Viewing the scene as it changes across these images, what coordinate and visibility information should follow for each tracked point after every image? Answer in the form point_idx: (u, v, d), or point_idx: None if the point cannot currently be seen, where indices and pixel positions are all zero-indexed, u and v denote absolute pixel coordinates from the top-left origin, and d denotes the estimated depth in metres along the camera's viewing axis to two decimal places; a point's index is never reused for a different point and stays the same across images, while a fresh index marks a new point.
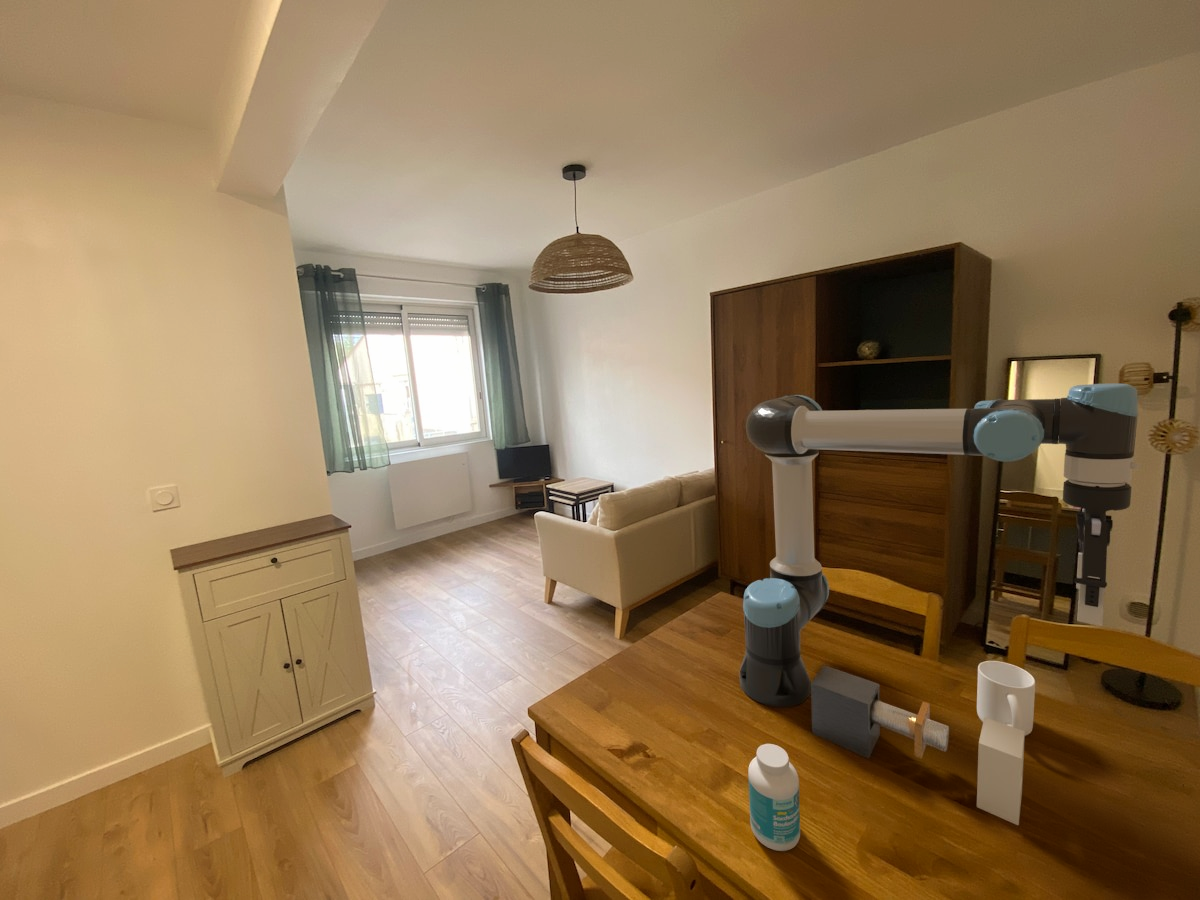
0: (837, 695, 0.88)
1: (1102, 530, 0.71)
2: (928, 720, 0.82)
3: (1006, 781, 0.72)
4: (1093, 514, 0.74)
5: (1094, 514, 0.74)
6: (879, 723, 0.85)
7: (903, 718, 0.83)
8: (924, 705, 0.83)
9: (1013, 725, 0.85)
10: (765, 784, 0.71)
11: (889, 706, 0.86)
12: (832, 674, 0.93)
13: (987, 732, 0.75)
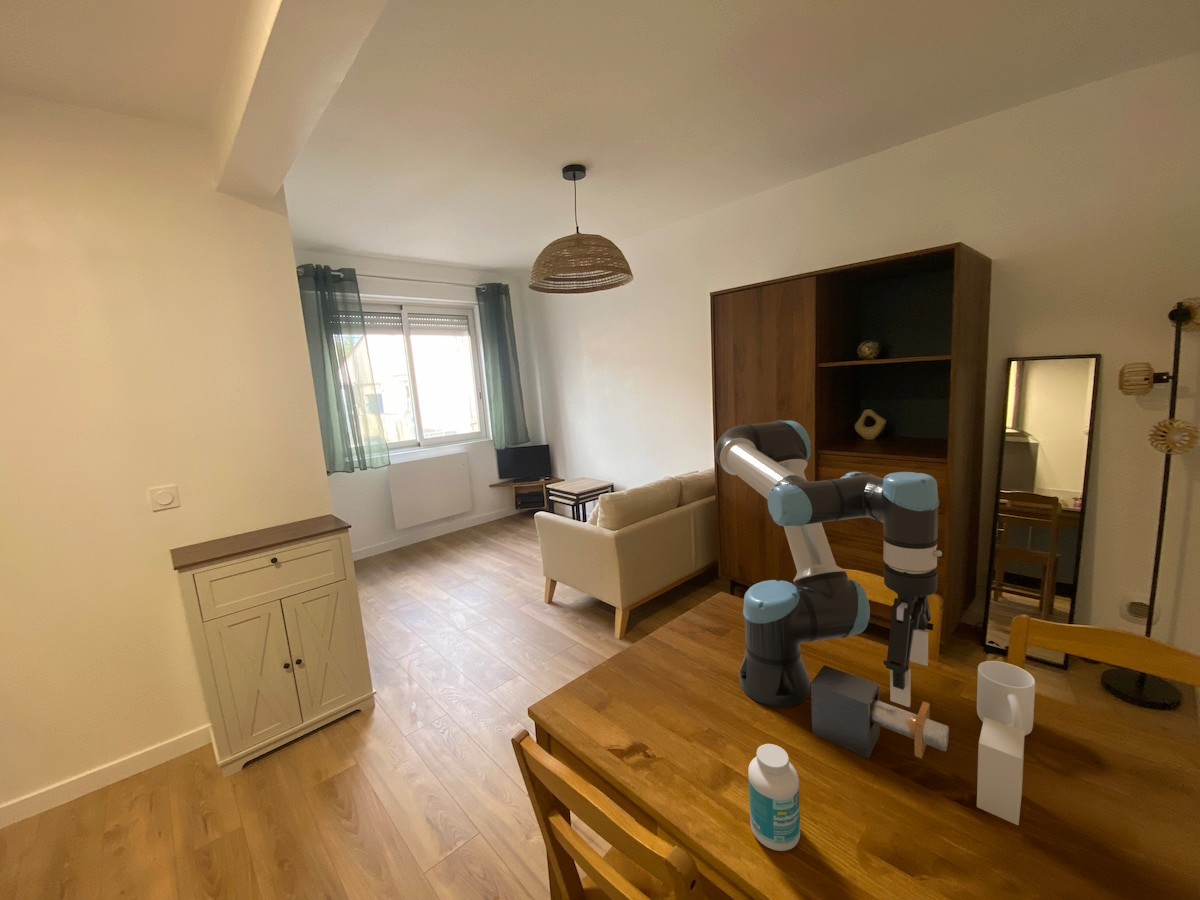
0: (837, 695, 0.88)
1: (904, 617, 0.75)
2: (928, 720, 0.82)
3: (1006, 781, 0.72)
4: (902, 599, 0.77)
5: (903, 599, 0.77)
6: (879, 723, 0.85)
7: (903, 718, 0.83)
8: (924, 705, 0.83)
9: (1013, 725, 0.85)
10: (765, 784, 0.71)
11: (889, 706, 0.86)
12: (832, 674, 0.93)
13: (987, 732, 0.75)
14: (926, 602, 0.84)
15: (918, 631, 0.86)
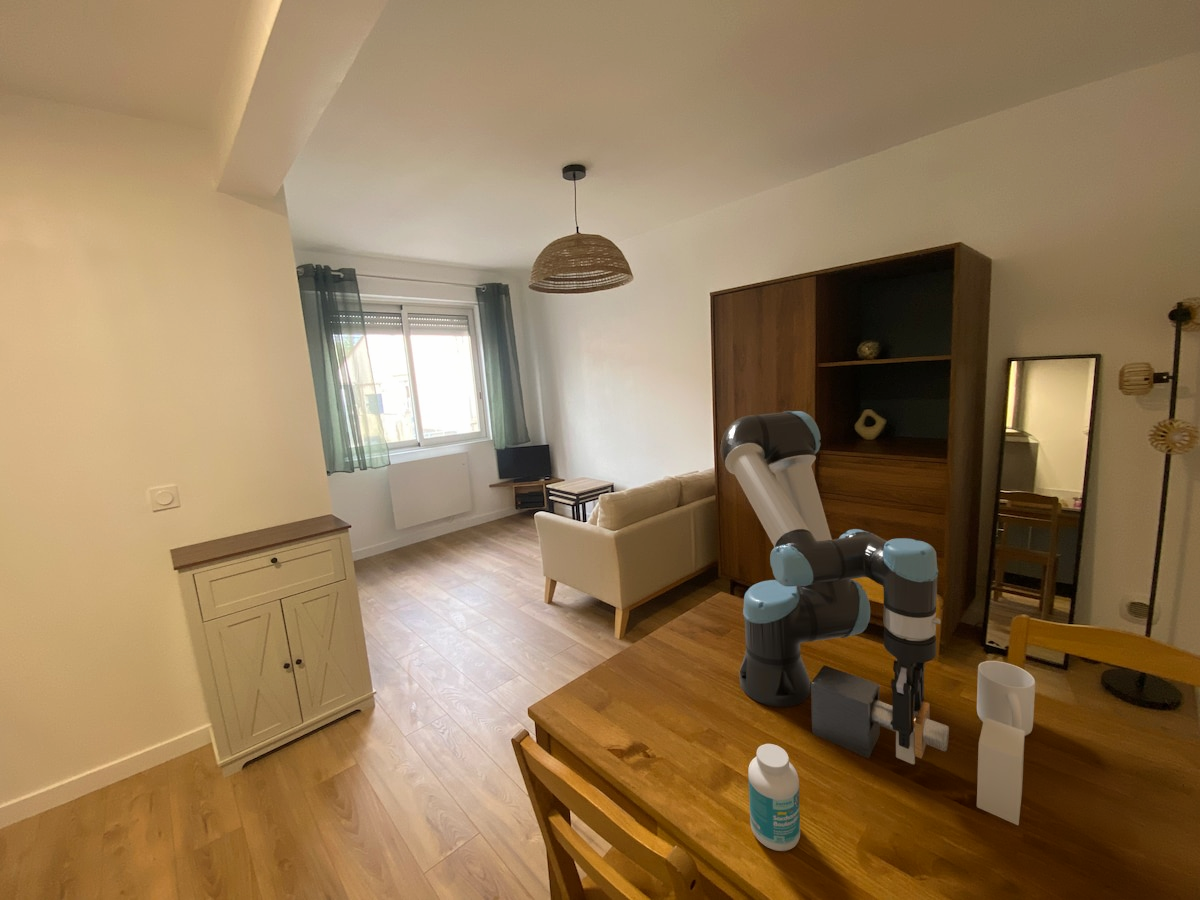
0: (837, 695, 0.88)
1: (904, 692, 0.77)
2: (928, 720, 0.82)
3: (1006, 781, 0.72)
4: (902, 664, 0.79)
5: (902, 664, 0.79)
6: (879, 723, 0.85)
7: None
8: (924, 705, 0.83)
9: (1013, 725, 0.85)
10: (765, 784, 0.71)
11: (889, 706, 0.86)
12: (832, 674, 0.93)
13: (987, 732, 0.75)
14: None
15: None
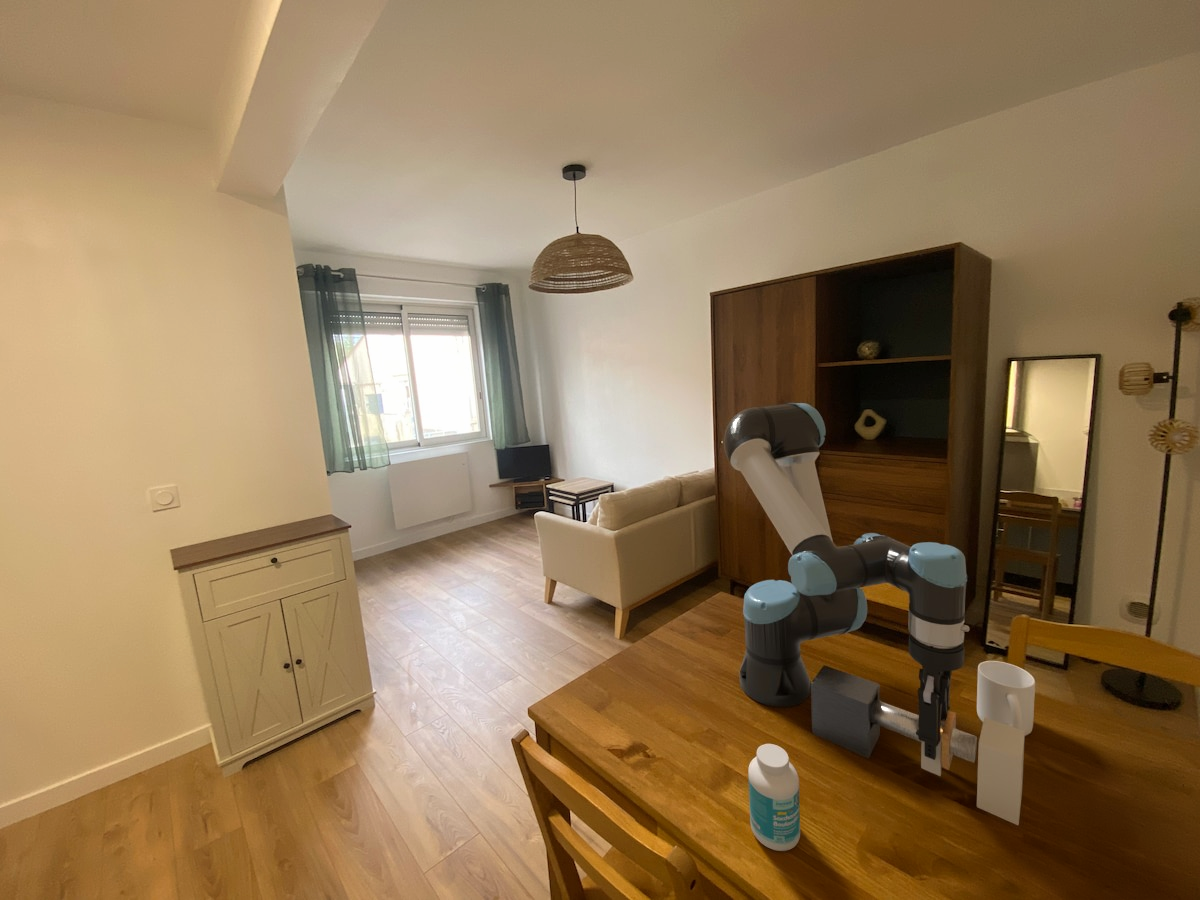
0: (837, 695, 0.88)
1: (932, 702, 0.75)
2: (955, 730, 0.79)
3: (1006, 781, 0.72)
4: (928, 672, 0.77)
5: (929, 672, 0.77)
6: (903, 733, 0.83)
7: None
8: (950, 714, 0.81)
9: (1013, 725, 0.85)
10: (765, 784, 0.71)
11: (913, 715, 0.83)
12: (832, 674, 0.93)
13: (987, 732, 0.75)
14: None
15: None
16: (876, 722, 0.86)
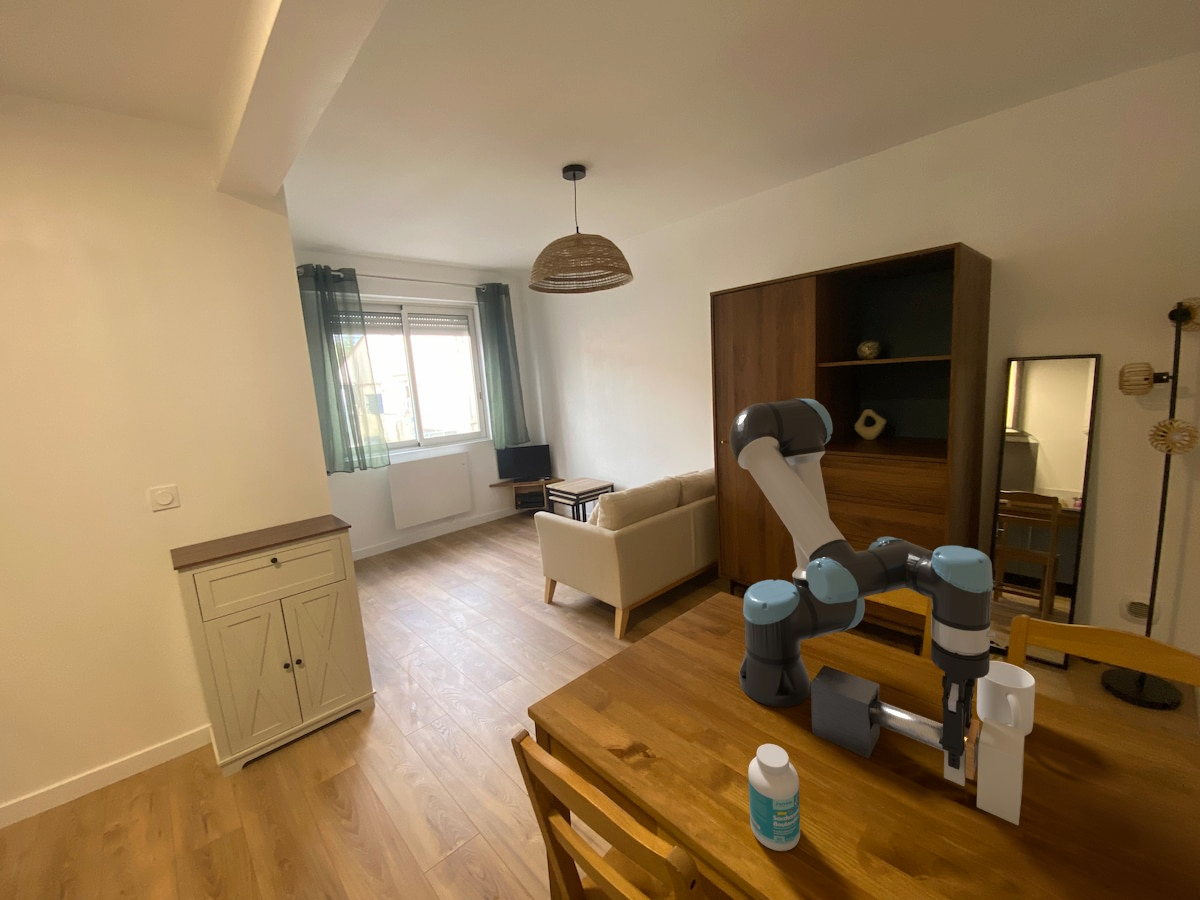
0: (837, 695, 0.88)
1: (957, 710, 0.72)
2: None
3: (1006, 781, 0.72)
4: (953, 680, 0.74)
5: (954, 680, 0.74)
6: (925, 741, 0.81)
7: None
8: (974, 723, 0.79)
9: (1013, 725, 0.85)
10: (765, 784, 0.71)
11: (935, 723, 0.81)
12: (832, 674, 0.93)
13: (987, 732, 0.75)
14: None
15: None
16: (896, 730, 0.84)
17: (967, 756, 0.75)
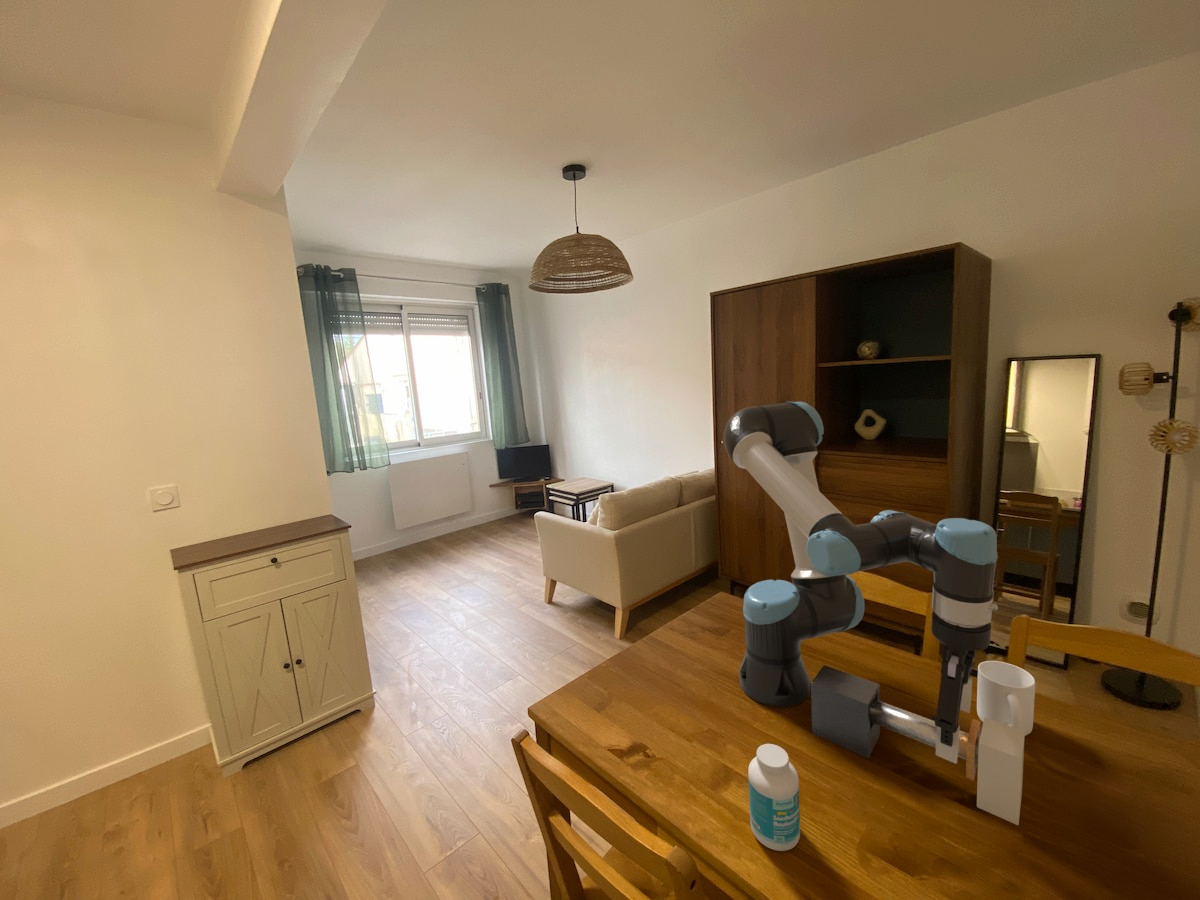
0: (837, 695, 0.88)
1: (956, 674, 0.71)
2: None
3: (1006, 781, 0.72)
4: (953, 652, 0.74)
5: (954, 652, 0.74)
6: (925, 741, 0.81)
7: None
8: (975, 723, 0.78)
9: (1013, 725, 0.85)
10: (765, 784, 0.71)
11: None
12: (832, 674, 0.93)
13: (987, 732, 0.75)
14: None
15: None
16: (897, 730, 0.83)
17: (968, 756, 0.75)
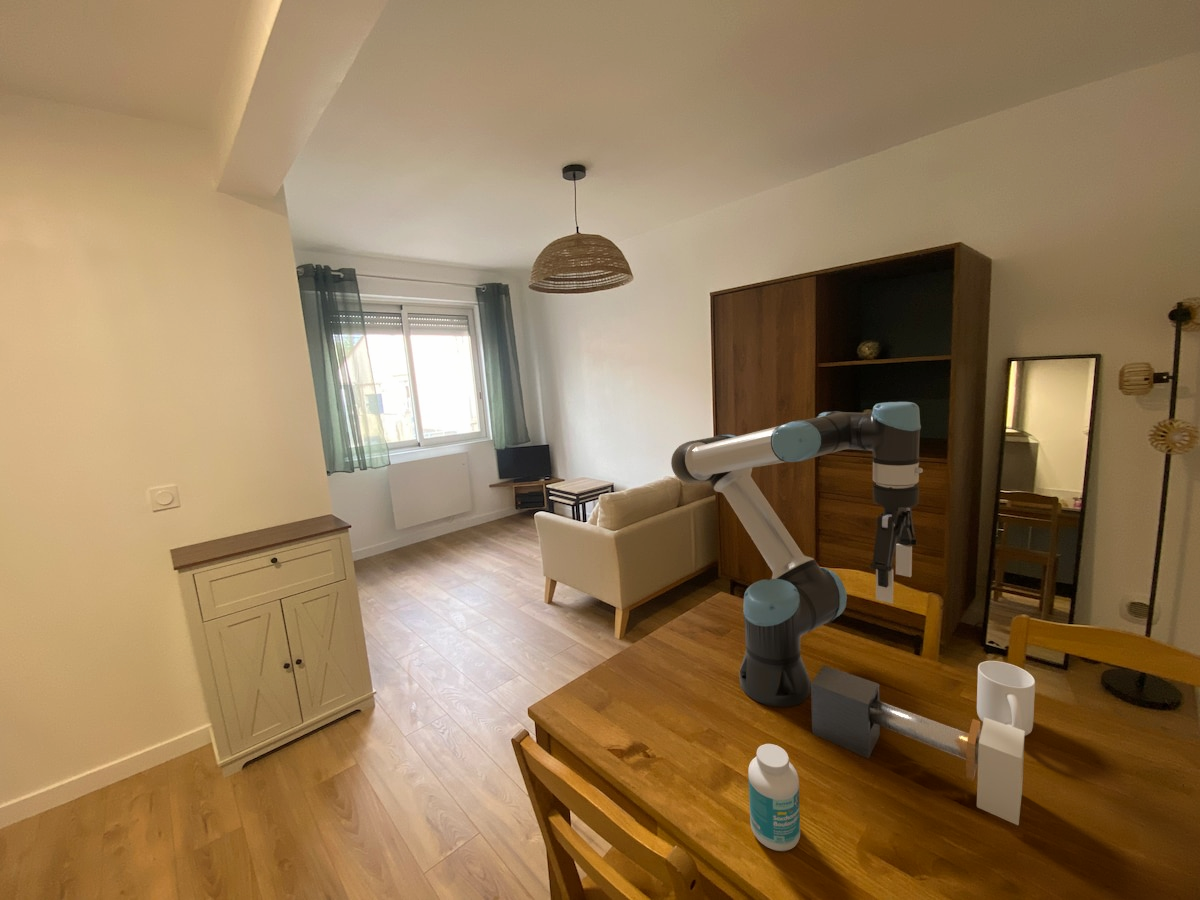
0: (837, 695, 0.88)
1: (888, 524, 0.86)
2: None
3: (1006, 781, 0.72)
4: (888, 511, 0.89)
5: (888, 511, 0.89)
6: (925, 741, 0.81)
7: (953, 737, 0.78)
8: (975, 723, 0.78)
9: (1013, 725, 0.85)
10: (765, 784, 0.71)
11: (936, 723, 0.81)
12: (832, 674, 0.93)
13: (987, 732, 0.75)
14: (910, 520, 0.96)
15: (903, 546, 0.97)
16: (897, 730, 0.83)
17: (968, 756, 0.75)
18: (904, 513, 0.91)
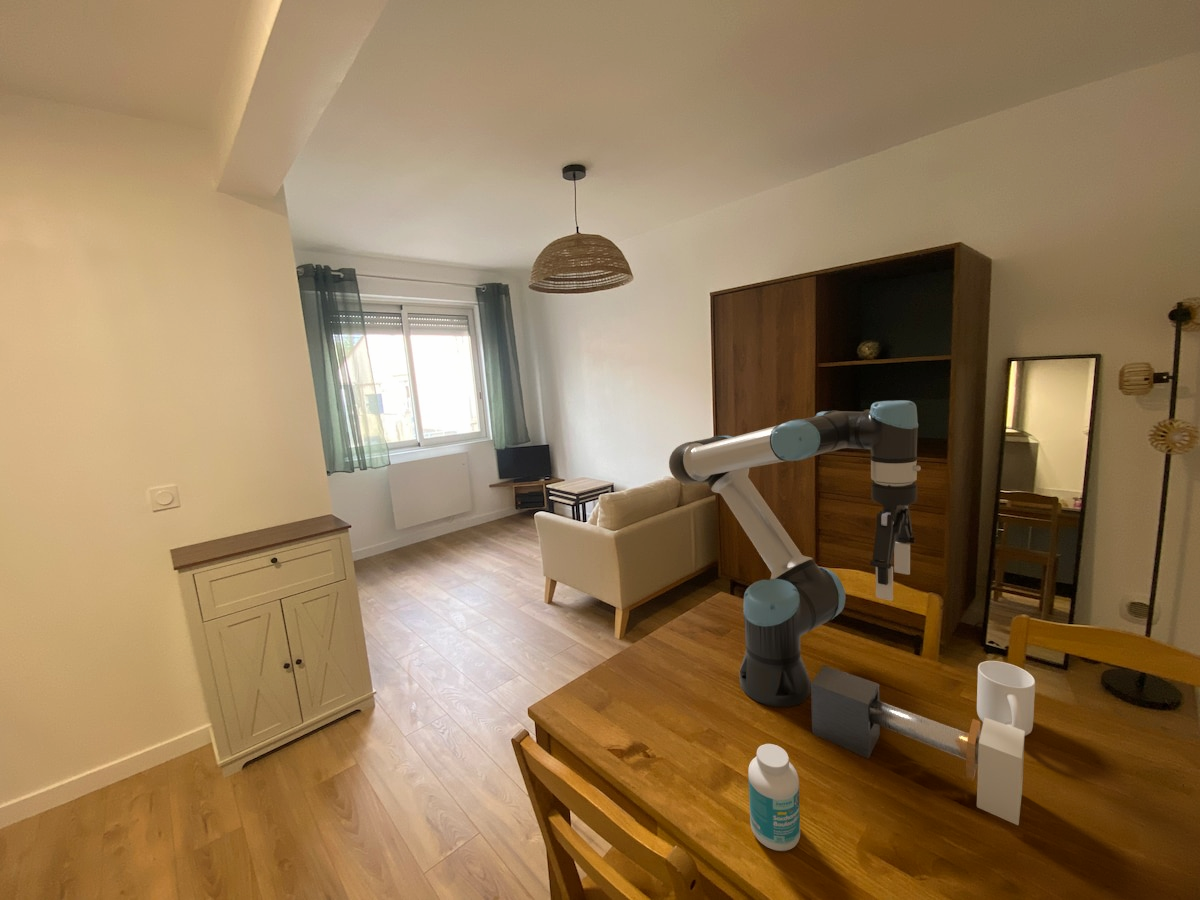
0: (837, 695, 0.88)
1: (888, 521, 0.87)
2: None
3: (1006, 781, 0.72)
4: (887, 508, 0.89)
5: (887, 508, 0.89)
6: (925, 741, 0.81)
7: (953, 737, 0.78)
8: (975, 723, 0.78)
9: (1013, 725, 0.85)
10: (765, 784, 0.71)
11: (936, 723, 0.81)
12: (832, 674, 0.93)
13: (987, 732, 0.75)
14: (908, 518, 0.96)
15: (901, 544, 0.98)
16: (897, 730, 0.83)
17: (968, 756, 0.75)
18: (902, 511, 0.92)
